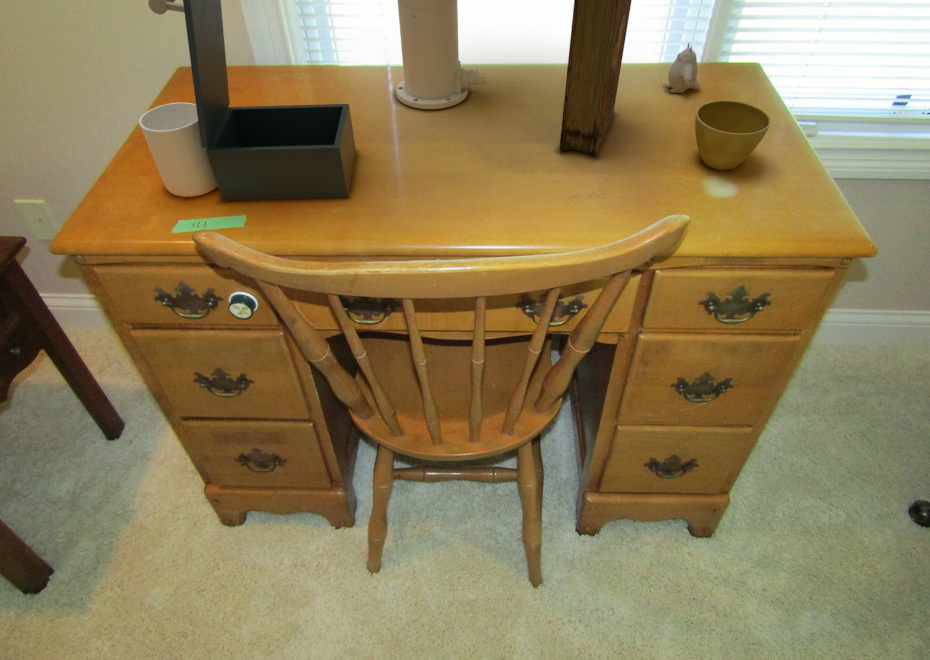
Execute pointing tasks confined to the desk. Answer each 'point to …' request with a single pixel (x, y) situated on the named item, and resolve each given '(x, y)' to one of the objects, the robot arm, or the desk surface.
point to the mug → (178, 149)
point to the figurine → (684, 72)
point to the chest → (283, 152)
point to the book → (593, 72)
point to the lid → (204, 60)
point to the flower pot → (728, 132)
